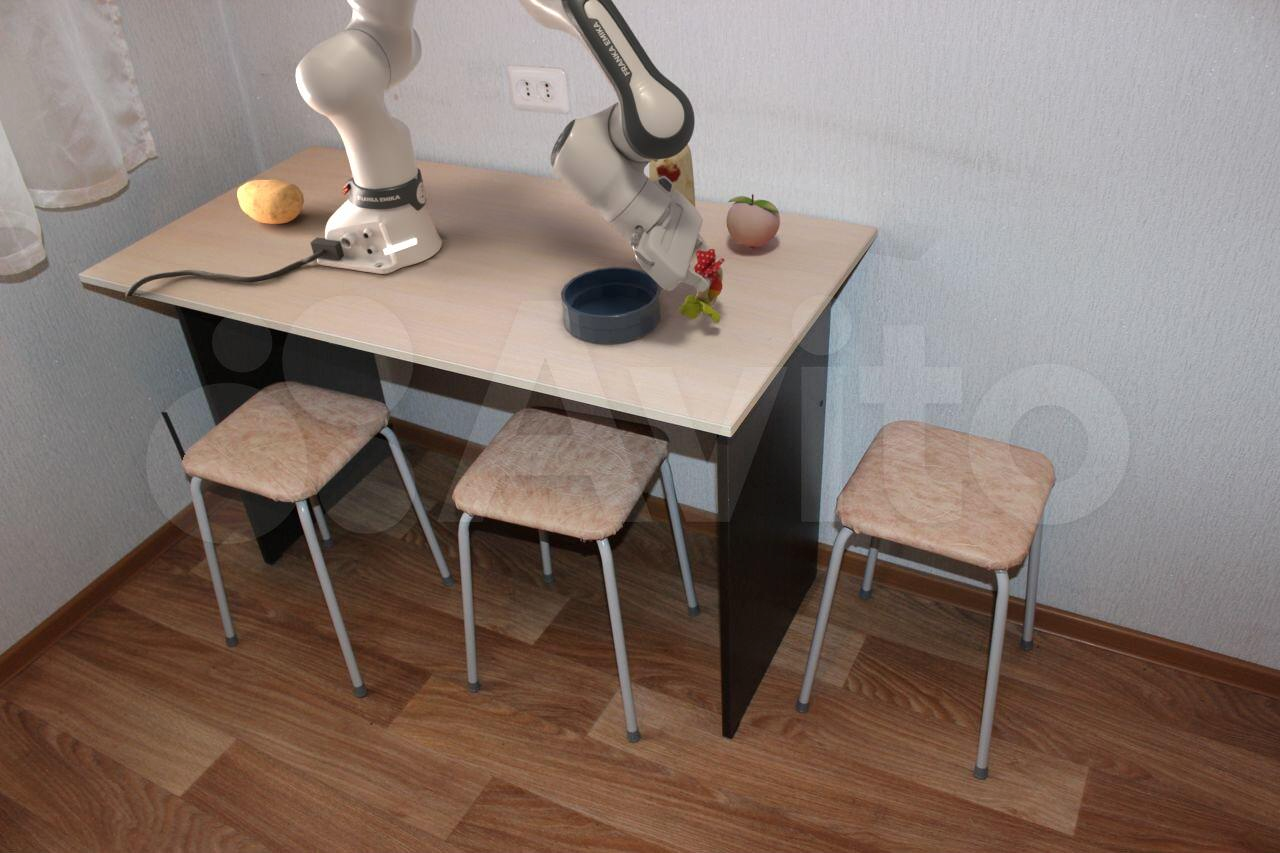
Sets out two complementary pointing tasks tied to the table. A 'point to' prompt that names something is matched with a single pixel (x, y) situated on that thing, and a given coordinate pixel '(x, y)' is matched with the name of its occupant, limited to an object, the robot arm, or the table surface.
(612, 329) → the bowl
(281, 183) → the potato
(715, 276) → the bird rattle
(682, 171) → the food model
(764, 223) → the decorative fruit
